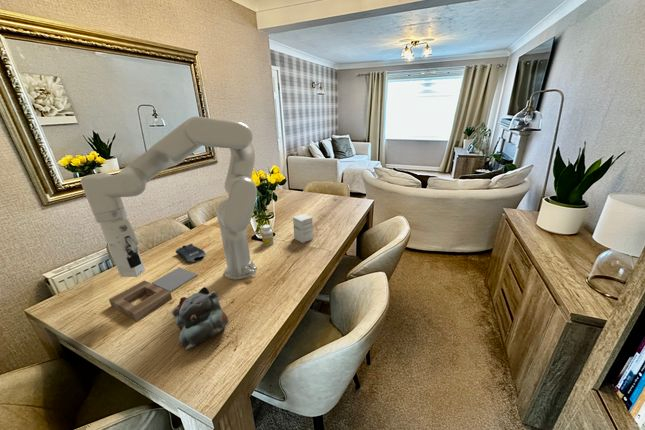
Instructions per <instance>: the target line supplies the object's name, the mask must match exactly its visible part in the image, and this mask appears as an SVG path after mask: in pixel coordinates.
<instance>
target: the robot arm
mask: <svg viewBox="0 0 645 430" xmlns="http://www.w3.org/2000/svg"><path fill="white" fill-rule="evenodd" d="M252 142H253V133H252V129H251V128H250V127H249V126H248V125H247V124H245V123H243V122H241V121H231V120H224V119H216V118H212V117H211V118H210V117H205V116H191V117H189V118H188V119H186V120H185V121H183V122H182V123H181V124H180V125H178V126H177V127H176V128H174V129H173V130H171V131H170V132H169V133H167V135H165V136H163V137H162V138H161V139H159V140H158V141H157V142H156V143H154V144H153V145H152V146H151V147H150V148H149V149H148V150H146V151H145V152H144V153H143V154H141V155H140V156H139V155H138V157H137V158H136V159H134V160H133V161H132V162H130V163H129V164H127V165H126V166H125V167H124V168H122V169H121V170H120V171H119V172H118V173H116V174H110V173H106V172H103V173H102V172H100V173H92V174H87V175H85V176H83V177H81V179H80V184H81V187H82V191H83V192H84V195H85V197H86V199H87V202H88V204H89V206H90V208H91V211H92V215H93V216H94V219H95V221H96V223H97V224H99V225H100V228H101V230H102V233H103V236H104V239H105V241H106V243H107V245H108V246H109V245H113V246H115V247H116V248H117V249H120V250H124V252H125V254H126V255H127V261H128V263H129V266H130V268H134V267H136V266H138V265H140V264H141V261H140V258H139V255H138V251H139V246H138V245H139V240H138V237H137V235H136V233H135V230H134V229H133V226H132V224H131V222H130V221H129V219H128V214H127V211H126V209H125V206H124V202H123V199H122V198H132V197H133V198H134V197H137V196H140V195H142V194H143V193H144V192H145V190H146V188H147V184H148V183H149V182H150V181H151V180H153V178H155V177H156V176H157V175H159V174H160V173H162V172H163V171H164V170H167V169H169V168H172V167H175V166H177V165H180V164H181V163H182V162H183V161H185V160H186V159H187V158H188V157H189V156H191V155H192V154H193V153H195V152H196V151H197V150H199V148H201V147H202V146H203V147H210V148H221V149H229V151H230V162H229V166H228V169H227V173H226V174H227V175H226V178H225V181H224V190H225V192H226V193H227V196H228V198H227V199H224V200H222V201H220V202H219V203H218V205H217V208H216V212H215V213H216V219H217V222H218V226H219V230H220V235H221V240H222V244H223V245H222V246H223V251H224V257H225V262H226V268H225V269H224V276H225V278H227V279H229V280H232V281H233V280H235V281H236V280H243V279H246V278H249V277H250V276H251V275H256V273H257V270H258V266H256V264H255V263H254V262H253V261H252V260H251V253H250V248H249V241H248V232H247V228H248V226H249V225H250V223H251V220H252V218H253V217H252V216H253V213H254V208H255V205H256V201H257V196H258V187H257V186H256V183H255V182H254V181H253V180H252V176H253V172H254V167H255V161H256V158H255V157H256V156H255V155H256V154H255V148H254V145H253V143H252ZM126 245H129V246H130V247H127V248H125V246H126ZM128 249H131V251H130V252H128Z"/></svg>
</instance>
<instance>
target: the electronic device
mask: <svg viewBox="0 0 645 430" xmlns="http://www.w3.org/2000/svg"><path fill="white" fill-rule="evenodd" d="M175 254H177V255H178V256H180V257H181V258H182V259H184V261H185V262H186V263H192V264H193V263H196V262H197V263H199V262H200V261H201V260H203V258H205V256H206V255H207V254H206V251H205V250H203V249H201V248H200V247H197V246H196V245H195V246H194V244H193V243H190V244H187V245H182V246H181V247H180V246H179V248H176V249H175ZM202 257H203V258H202ZM200 258H202V259H200ZM198 259H200V260H198Z"/></svg>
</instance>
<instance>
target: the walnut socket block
mask: <svg viewBox="0 0 645 430" xmlns="http://www.w3.org/2000/svg"><path fill="white" fill-rule="evenodd" d="M171 293H172V292H169V291H167V290H164V289H162V288H160V287H158V286H156V285H154V284H152V282H150V281H147V280H145V279H144V280H142V281H140V282H138V283H136V284H135V285H133V286H131V287H129V288H127V289H125V290H124V291H121V292H120V293H118V294H115V295H114V296H112V297H110V298H109V299H108V301H109V304H110V306H111V307H112V308H114V309H116V310H117V311H119V312H121V313H123V314H124V315H126V316H127V317H129V318H131V319H133V320H134V321H135V322H139V321H141V320H142V319H144V318H145V317H147V316H149V315H150V314H151V313H153V312H154V311H156V310H157V309H159V308H160V307H162V306H164V305H165V304H166V303H168V302H170V301H172V300H173V297H172V294H171ZM147 294H148V295H149V296H148V297H146V298H145V299H143V300H142V301H140V302H138V303H136V304H135V305H134V304H133V302H134V301H136V300H138V299H140V298H141V297H143V296H145V295H147Z"/></svg>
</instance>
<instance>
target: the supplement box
mask: <svg viewBox="0 0 645 430" xmlns="http://www.w3.org/2000/svg"><path fill="white" fill-rule="evenodd" d="M292 220H293V224H292V225H293V237H294V239H295V240H297V242H298V241H299V243H301V244H304V243H306V241H307V242H308V241H311V240H313V239H314V232H313V231H314V230H313V226H314V225H313V217H312V216H310V215H307V214H305V213H302V214H298V215H295V216H293V217H292Z"/></svg>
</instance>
